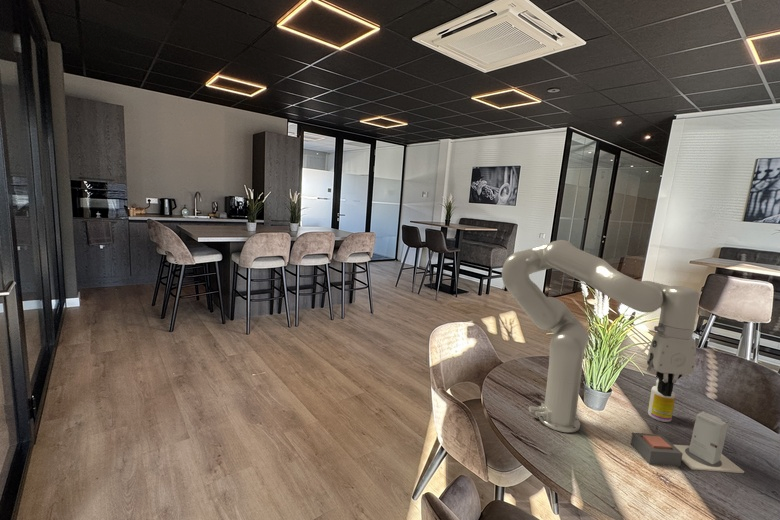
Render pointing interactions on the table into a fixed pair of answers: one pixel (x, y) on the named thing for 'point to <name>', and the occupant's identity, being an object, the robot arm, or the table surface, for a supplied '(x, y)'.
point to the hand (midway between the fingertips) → (664, 393)
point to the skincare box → (708, 437)
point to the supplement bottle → (661, 405)
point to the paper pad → (701, 464)
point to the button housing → (656, 451)
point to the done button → (656, 442)
